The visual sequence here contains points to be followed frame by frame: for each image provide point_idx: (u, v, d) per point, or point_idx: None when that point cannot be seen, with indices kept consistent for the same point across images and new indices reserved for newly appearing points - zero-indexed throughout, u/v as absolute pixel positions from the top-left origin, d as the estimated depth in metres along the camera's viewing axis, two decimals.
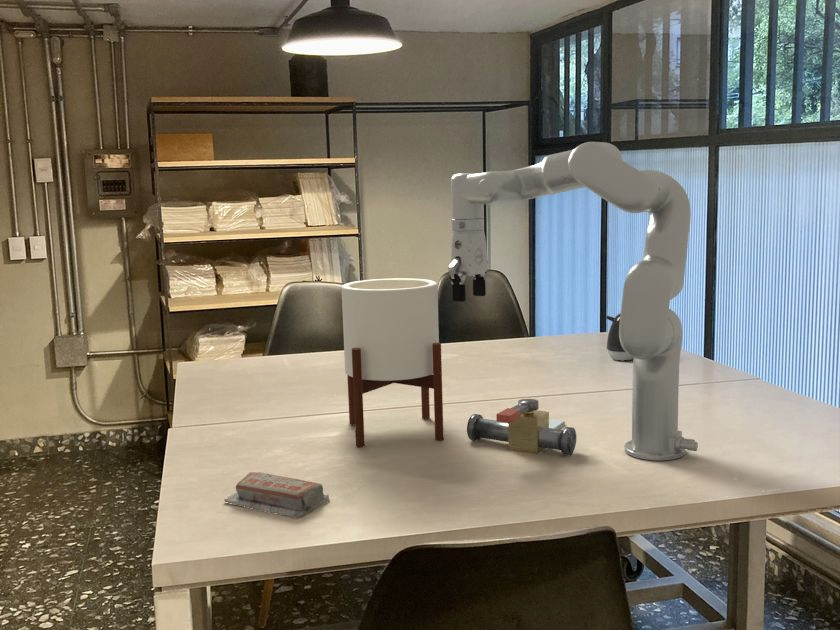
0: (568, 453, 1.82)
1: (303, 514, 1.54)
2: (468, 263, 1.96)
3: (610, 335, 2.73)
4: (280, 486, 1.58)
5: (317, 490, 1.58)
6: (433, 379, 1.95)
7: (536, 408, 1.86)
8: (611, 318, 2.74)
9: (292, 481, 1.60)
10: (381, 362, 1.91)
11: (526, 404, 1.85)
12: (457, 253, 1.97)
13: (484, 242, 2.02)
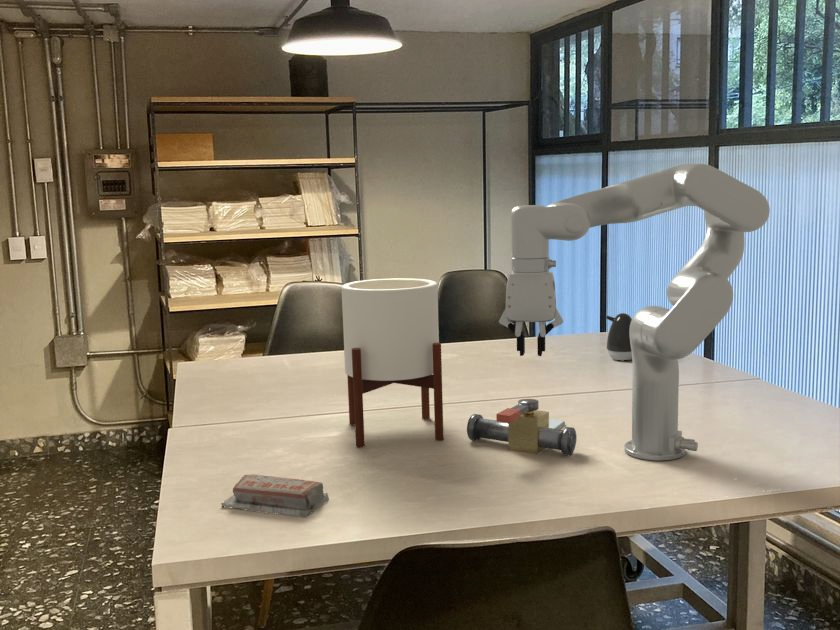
0: (568, 453, 1.82)
1: (308, 513, 1.54)
2: None
3: (610, 335, 2.73)
4: (281, 487, 1.58)
5: (318, 488, 1.59)
6: (433, 379, 1.95)
7: (536, 408, 1.86)
8: (611, 318, 2.74)
9: (291, 481, 1.60)
10: (381, 362, 1.91)
11: (526, 404, 1.85)
12: (555, 295, 1.73)
13: None
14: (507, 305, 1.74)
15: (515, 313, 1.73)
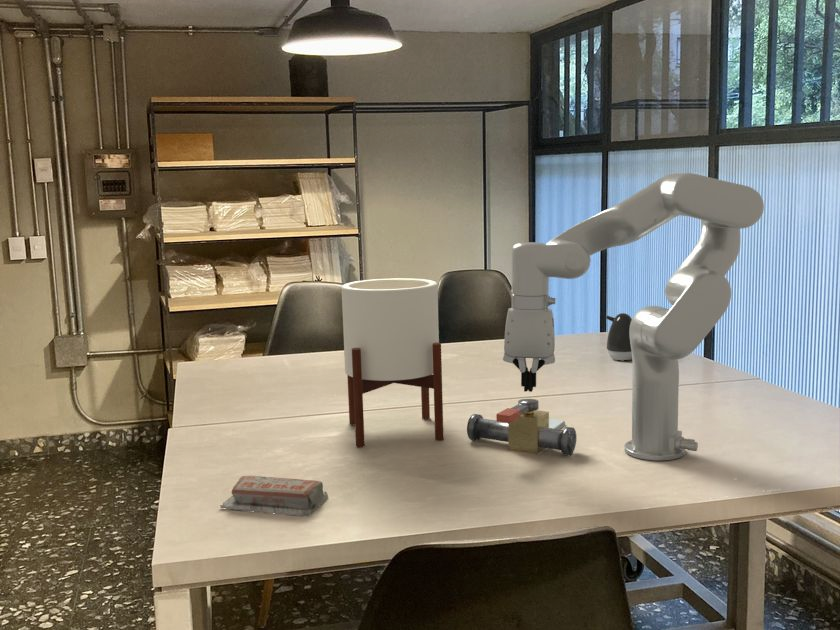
0: (568, 453, 1.82)
1: (311, 512, 1.55)
2: None
3: (610, 335, 2.73)
4: (281, 487, 1.58)
5: (319, 487, 1.59)
6: (433, 379, 1.95)
7: (536, 408, 1.86)
8: (611, 318, 2.74)
9: (290, 481, 1.60)
10: (381, 362, 1.91)
11: (526, 404, 1.85)
12: (553, 332, 1.74)
13: None
14: (506, 341, 1.75)
15: (514, 349, 1.75)
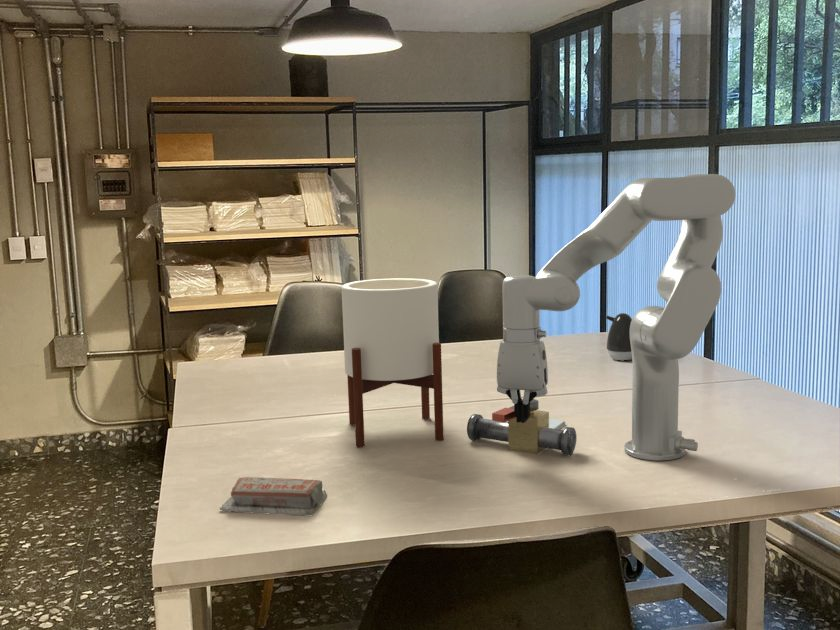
0: (568, 453, 1.82)
1: (313, 511, 1.55)
2: None
3: (610, 335, 2.73)
4: (282, 487, 1.58)
5: (319, 486, 1.60)
6: (433, 379, 1.95)
7: (535, 408, 1.86)
8: (611, 318, 2.74)
9: (290, 481, 1.60)
10: (381, 362, 1.91)
11: None
12: (544, 364, 1.75)
13: None
14: (498, 372, 1.77)
15: (505, 380, 1.77)
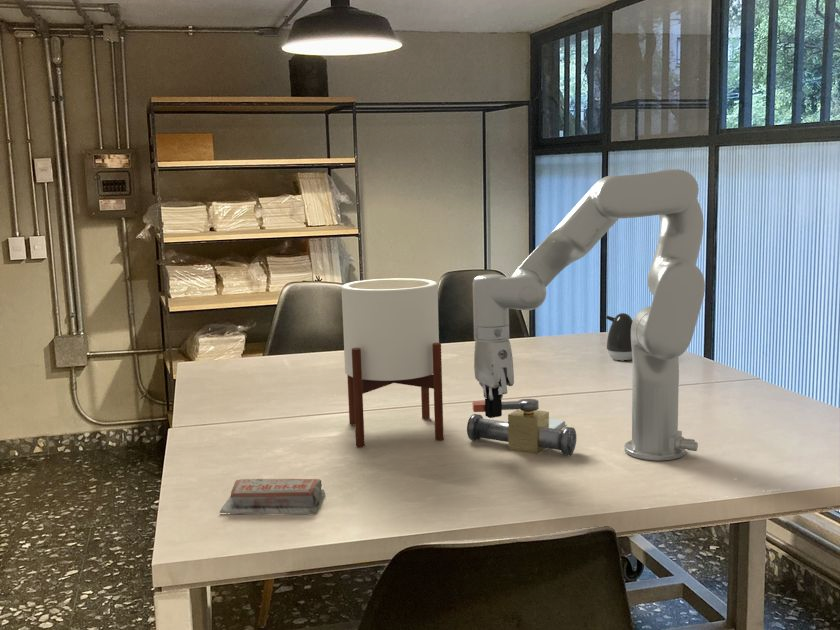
0: (568, 453, 1.82)
1: (316, 509, 1.56)
2: (513, 373, 1.79)
3: (610, 335, 2.73)
4: (283, 487, 1.58)
5: (319, 485, 1.60)
6: (433, 379, 1.95)
7: (527, 409, 1.85)
8: (611, 318, 2.74)
9: (289, 481, 1.60)
10: (381, 362, 1.91)
11: (518, 402, 1.86)
12: (503, 364, 1.77)
13: None
14: (474, 365, 1.86)
15: (477, 374, 1.84)
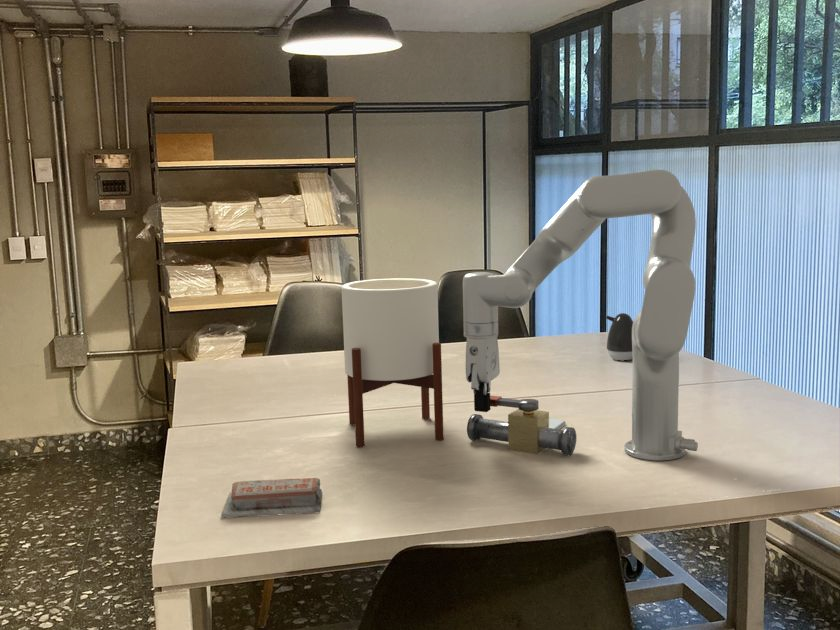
0: (568, 453, 1.82)
1: None
2: (485, 371, 1.82)
3: (610, 335, 2.73)
4: (284, 487, 1.57)
5: (319, 484, 1.61)
6: (433, 379, 1.95)
7: (522, 409, 1.86)
8: (611, 318, 2.74)
9: (288, 481, 1.60)
10: (381, 362, 1.91)
11: (518, 401, 1.88)
12: (473, 360, 1.82)
13: (497, 344, 1.88)
14: None
15: None
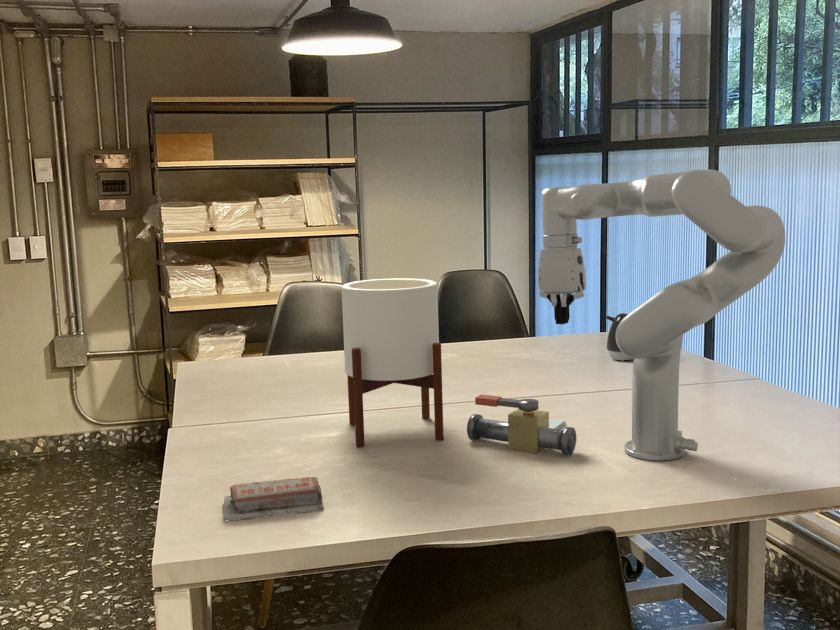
0: (568, 453, 1.82)
1: (322, 506, 1.58)
2: None
3: (610, 335, 2.73)
4: (286, 487, 1.57)
5: None
6: (433, 379, 1.95)
7: (522, 409, 1.86)
8: (611, 318, 2.74)
9: (287, 481, 1.60)
10: (381, 362, 1.91)
11: (518, 401, 1.88)
12: (580, 269, 1.88)
13: None
14: (538, 277, 1.93)
15: (545, 285, 1.92)
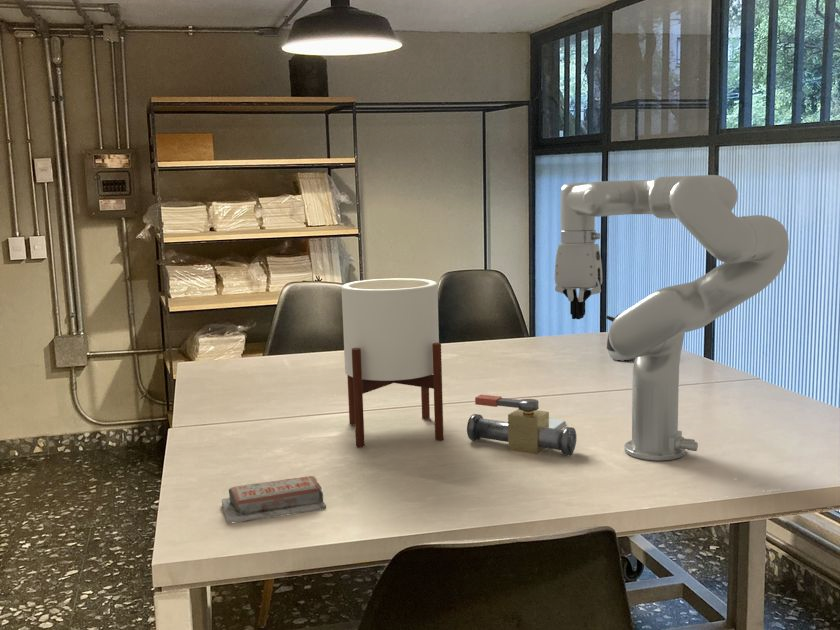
0: (568, 453, 1.82)
1: (324, 504, 1.58)
2: None
3: None
4: (287, 487, 1.57)
5: None
6: (433, 379, 1.95)
7: (522, 409, 1.86)
8: (611, 318, 2.74)
9: (286, 481, 1.60)
10: (381, 362, 1.91)
11: (518, 401, 1.88)
12: (598, 265, 1.90)
13: None
14: (555, 272, 1.94)
15: (562, 280, 1.93)
